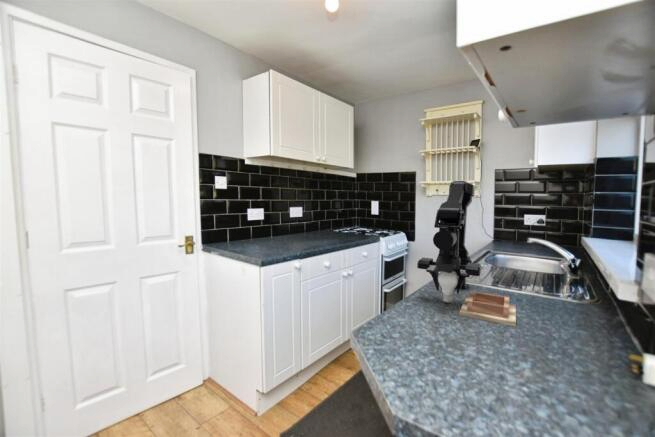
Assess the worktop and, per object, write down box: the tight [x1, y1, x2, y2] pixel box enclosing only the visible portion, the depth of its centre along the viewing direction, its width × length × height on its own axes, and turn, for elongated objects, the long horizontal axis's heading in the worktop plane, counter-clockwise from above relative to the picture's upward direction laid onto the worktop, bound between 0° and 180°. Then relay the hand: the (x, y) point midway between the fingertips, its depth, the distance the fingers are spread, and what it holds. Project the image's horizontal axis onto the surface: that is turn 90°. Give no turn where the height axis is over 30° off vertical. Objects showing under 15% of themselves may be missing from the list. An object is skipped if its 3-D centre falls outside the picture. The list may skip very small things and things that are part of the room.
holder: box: [459, 290, 517, 328], centre depth 89 cm, size 14×14×4 cm
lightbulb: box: [438, 271, 459, 304], centre depth 97 cm, size 6×6×11 cm
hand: (447, 292), depth 97 cm, fingers closed on lightbulb, 6 cm apart
